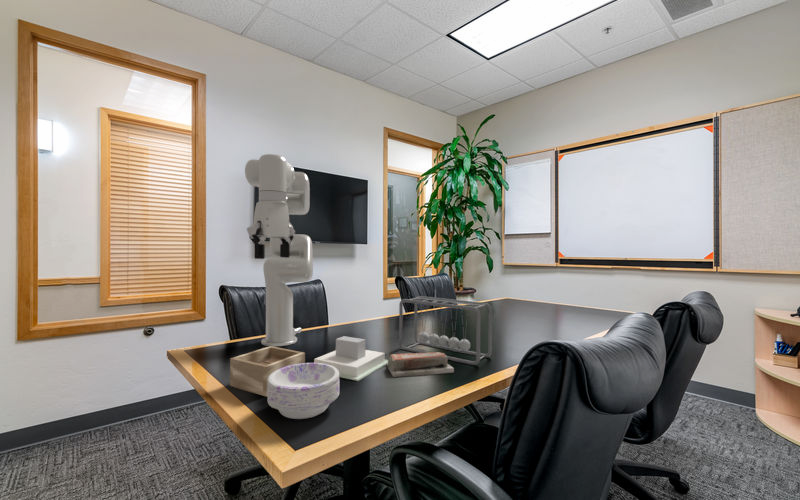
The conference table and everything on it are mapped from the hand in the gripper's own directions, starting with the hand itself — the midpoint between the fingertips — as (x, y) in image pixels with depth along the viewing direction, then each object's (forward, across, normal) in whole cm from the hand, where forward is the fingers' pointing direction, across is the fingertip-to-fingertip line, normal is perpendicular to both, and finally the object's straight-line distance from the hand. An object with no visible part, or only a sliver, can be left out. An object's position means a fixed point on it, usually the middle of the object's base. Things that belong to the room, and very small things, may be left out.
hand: (272, 257), depth 103 cm
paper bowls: (+32, +16, +26) cm, 44 cm away
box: (+32, +9, +7) cm, 34 cm away
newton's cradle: (+33, -36, +40) cm, 63 cm away
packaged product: (+33, -19, +39) cm, 54 cm away
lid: (+32, -12, +19) cm, 39 cm away
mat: (+32, -12, +19) cm, 39 cm away
